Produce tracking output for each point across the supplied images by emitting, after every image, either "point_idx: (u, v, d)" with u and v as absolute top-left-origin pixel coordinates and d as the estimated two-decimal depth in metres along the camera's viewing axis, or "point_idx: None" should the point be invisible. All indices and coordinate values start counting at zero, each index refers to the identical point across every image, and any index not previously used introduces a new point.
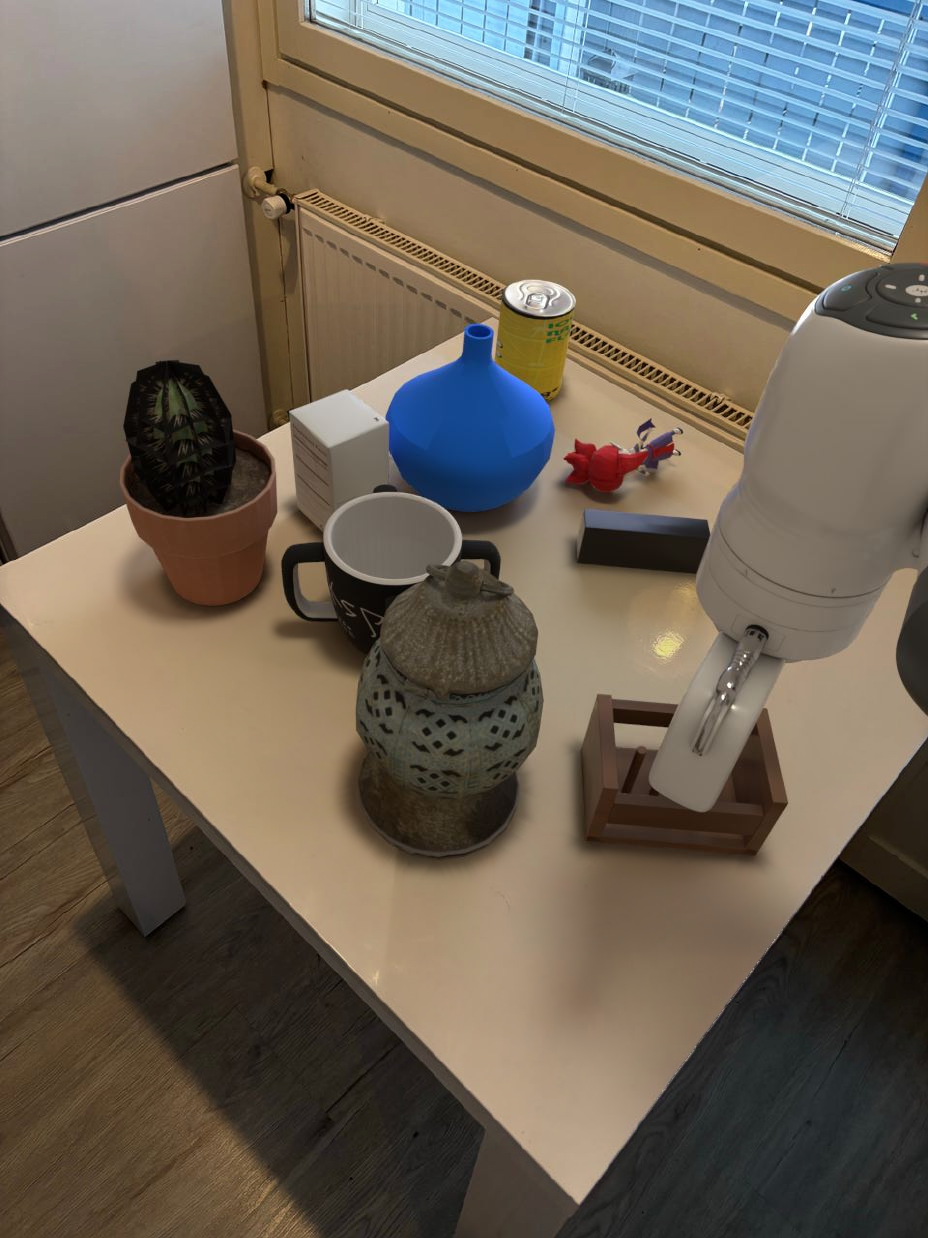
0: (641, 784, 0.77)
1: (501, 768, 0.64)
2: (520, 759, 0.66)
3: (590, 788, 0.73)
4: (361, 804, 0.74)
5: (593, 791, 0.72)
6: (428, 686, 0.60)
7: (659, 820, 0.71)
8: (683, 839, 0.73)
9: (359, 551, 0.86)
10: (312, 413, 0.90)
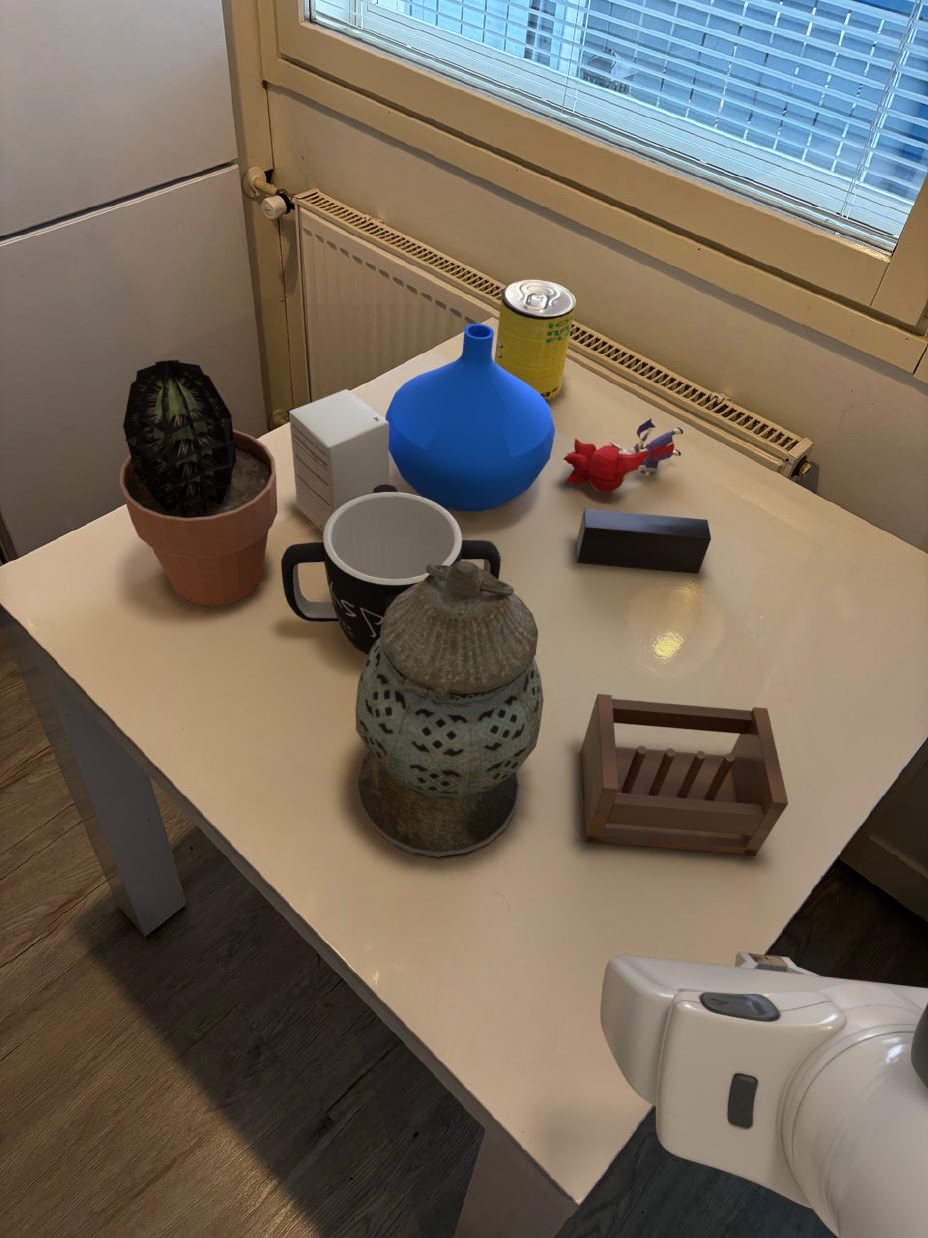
0: (641, 784, 0.77)
1: (501, 767, 0.64)
2: (520, 759, 0.66)
3: (590, 788, 0.73)
4: (361, 804, 0.74)
5: (593, 791, 0.72)
6: (428, 686, 0.60)
7: (659, 820, 0.71)
8: (683, 839, 0.73)
9: (359, 551, 0.86)
10: (312, 413, 0.90)
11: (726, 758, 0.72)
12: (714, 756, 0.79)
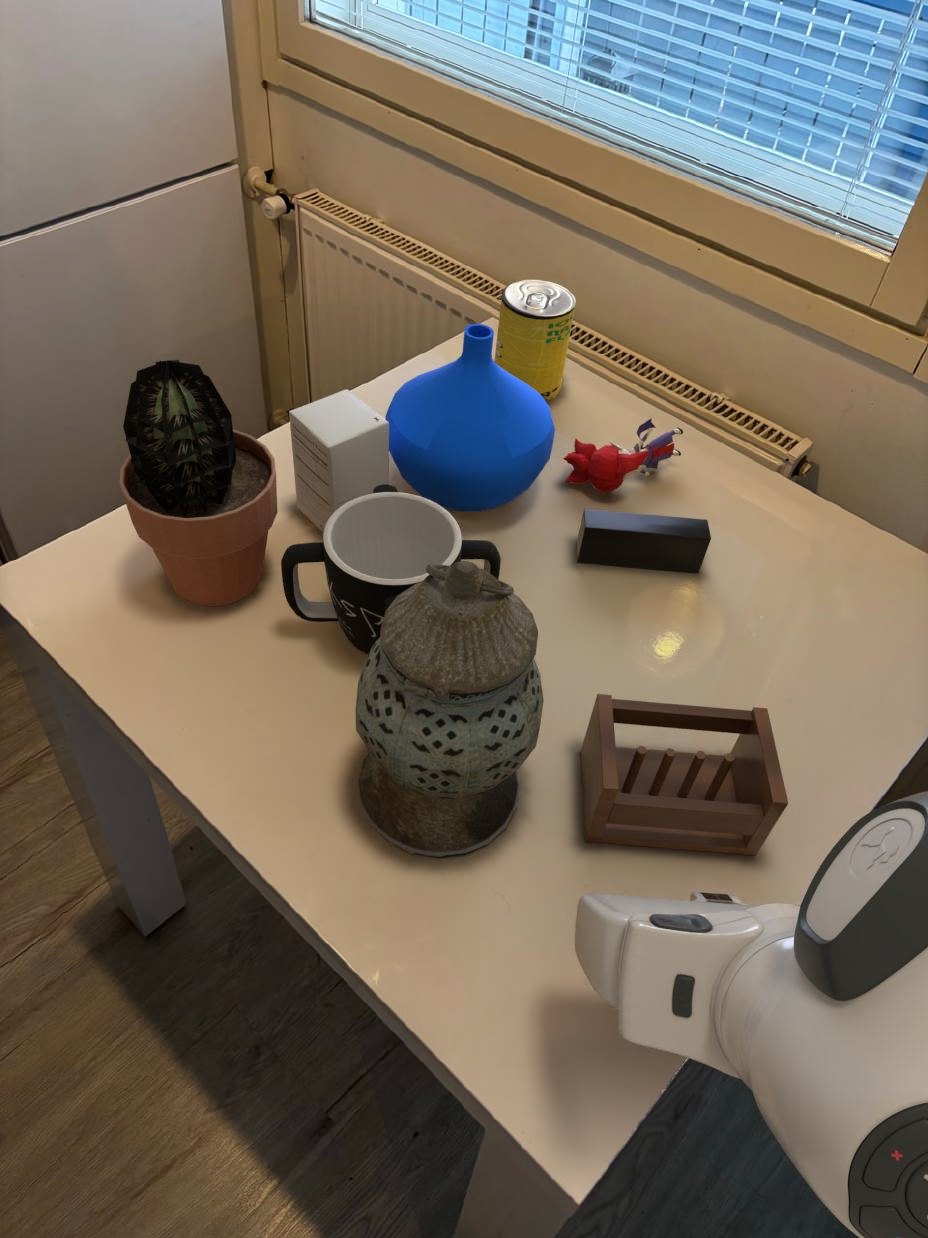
0: (641, 784, 0.77)
1: (501, 767, 0.64)
2: (520, 759, 0.66)
3: (590, 788, 0.73)
4: (361, 804, 0.74)
5: (593, 791, 0.72)
6: (428, 686, 0.60)
7: (659, 820, 0.71)
8: (683, 839, 0.73)
9: (359, 551, 0.86)
10: (312, 413, 0.90)
11: (726, 758, 0.72)
12: (714, 756, 0.79)
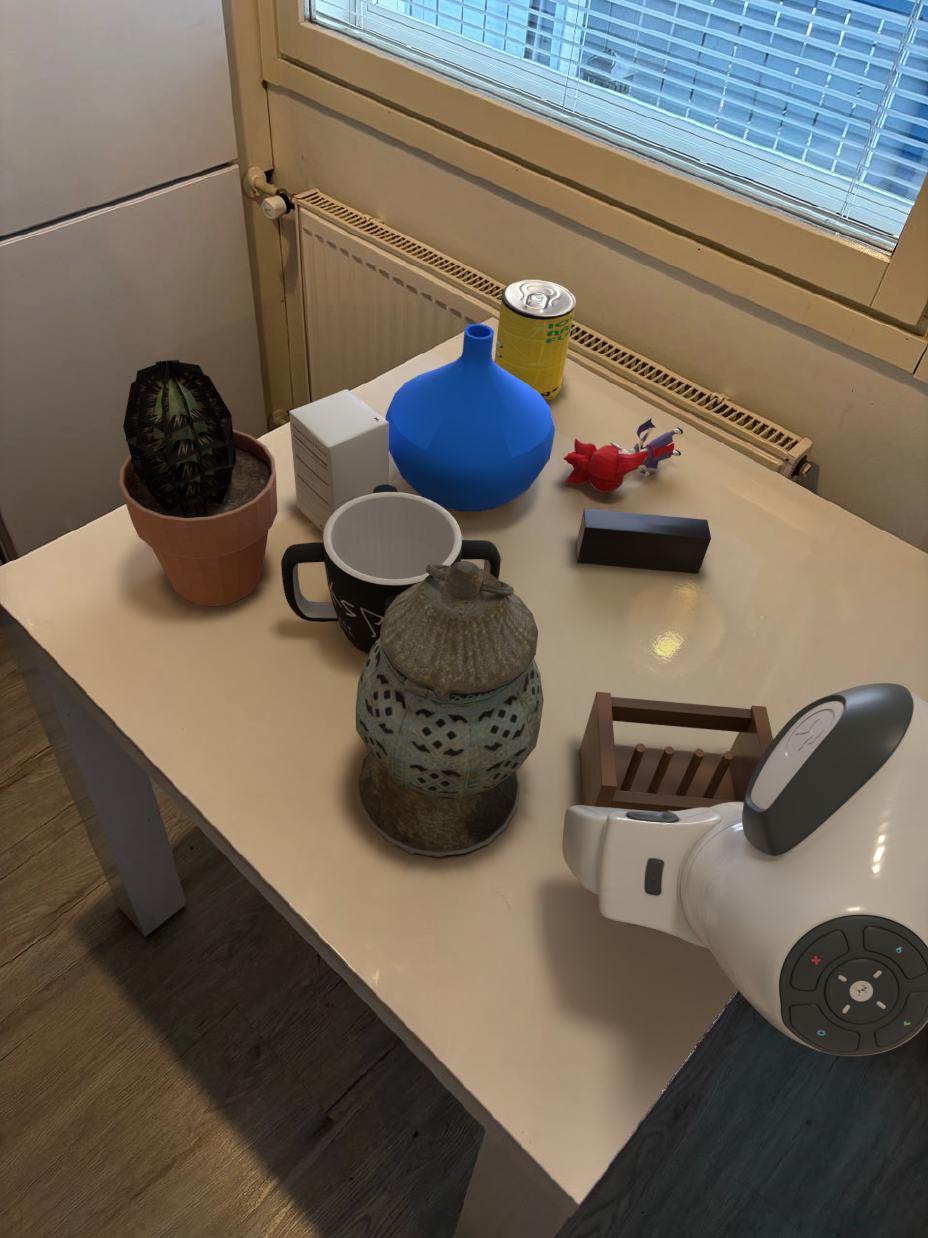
0: (640, 782, 0.77)
1: (501, 767, 0.64)
2: (520, 759, 0.66)
3: (589, 786, 0.73)
4: (361, 804, 0.74)
5: (592, 789, 0.72)
6: (428, 686, 0.60)
7: None
8: None
9: (359, 551, 0.86)
10: (312, 413, 0.90)
11: (725, 756, 0.72)
12: (713, 754, 0.79)
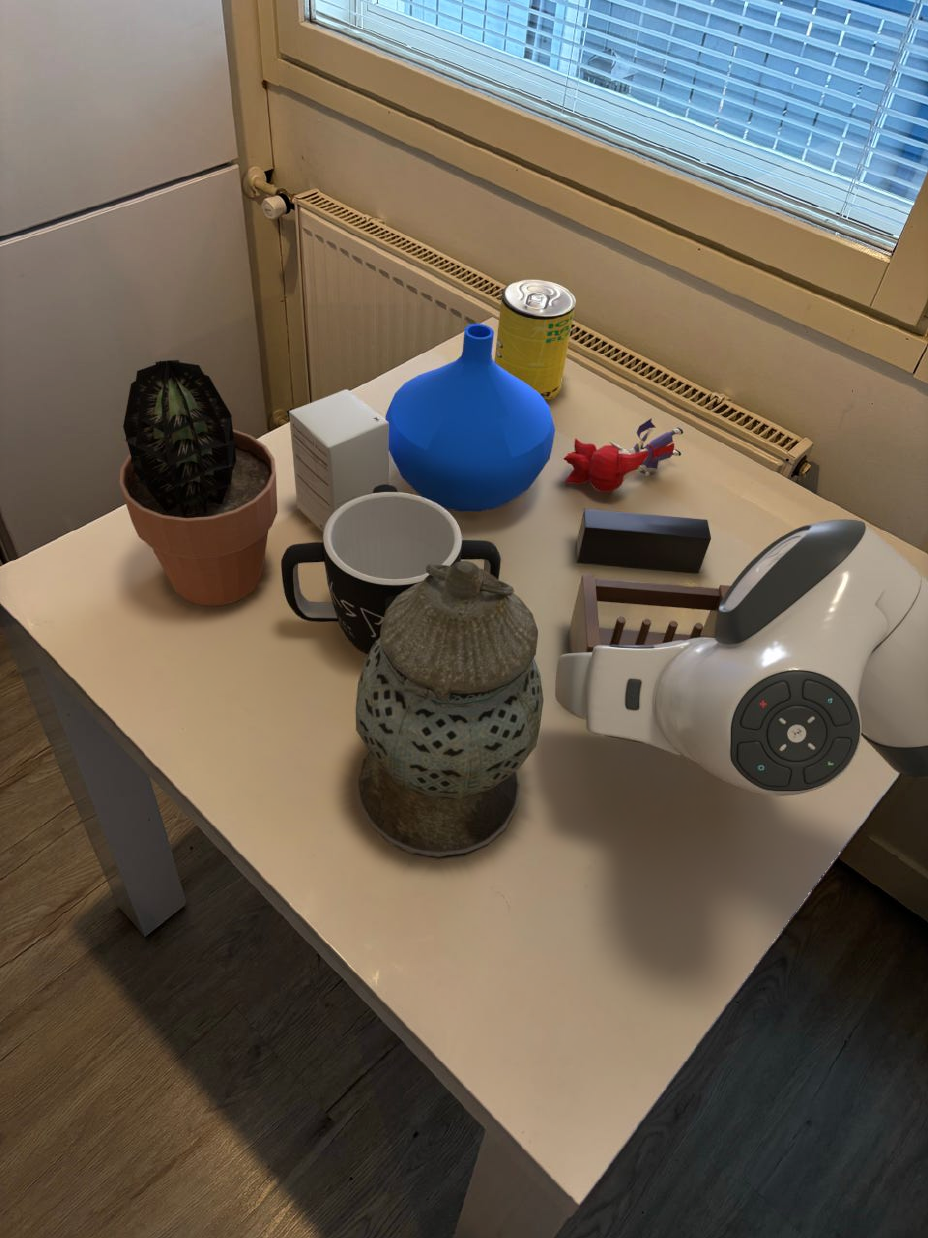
0: None
1: (501, 767, 0.64)
2: (520, 759, 0.66)
3: None
4: (361, 804, 0.74)
5: None
6: (428, 686, 0.60)
7: None
8: None
9: (359, 551, 0.86)
10: (312, 413, 0.90)
11: (696, 626, 0.81)
12: (687, 635, 0.89)
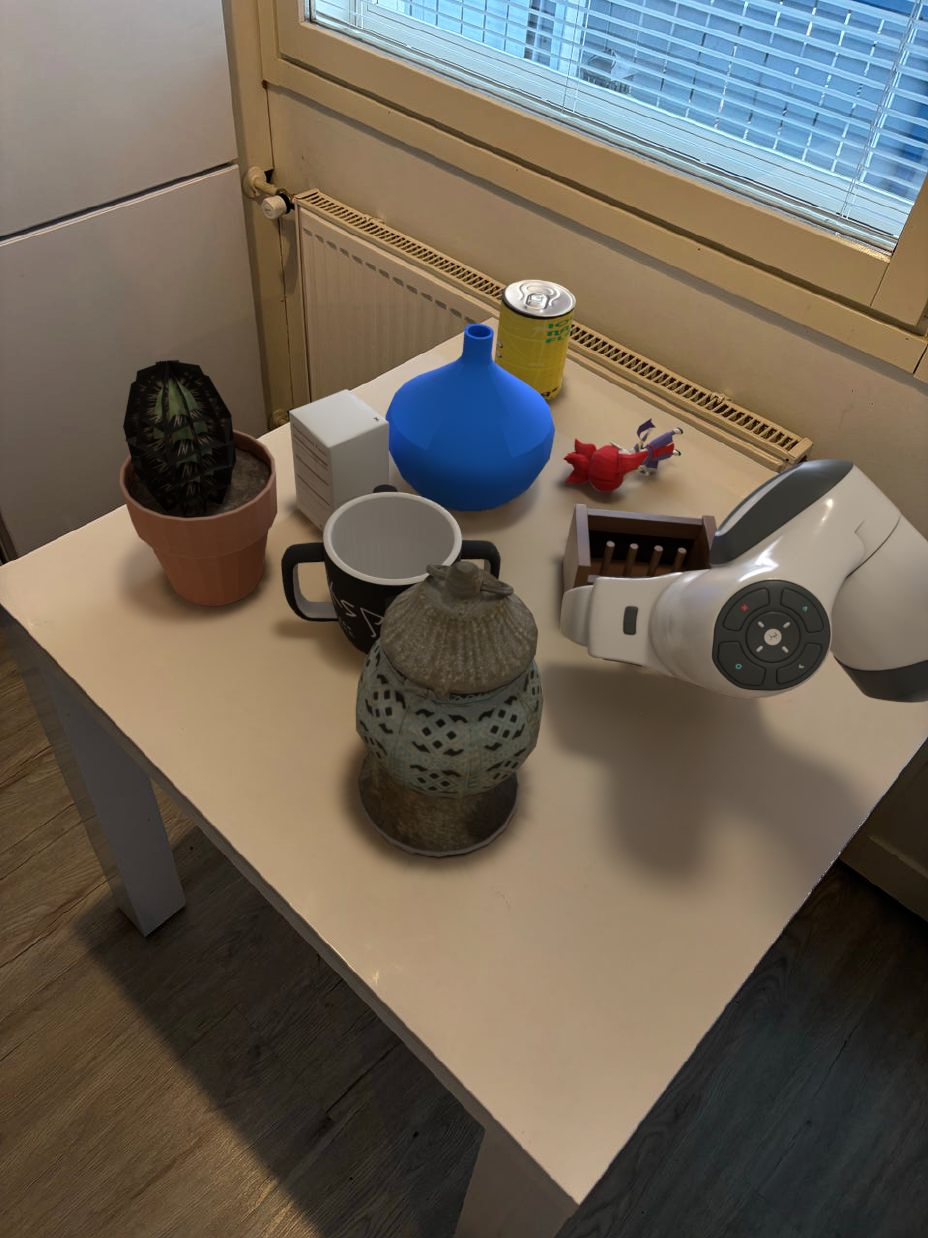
0: None
1: (501, 767, 0.64)
2: (520, 759, 0.66)
3: (569, 579, 0.90)
4: (361, 804, 0.74)
5: (571, 578, 0.88)
6: (428, 686, 0.60)
7: None
8: None
9: (359, 551, 0.86)
10: (312, 413, 0.90)
11: (679, 551, 0.88)
12: (673, 565, 0.95)
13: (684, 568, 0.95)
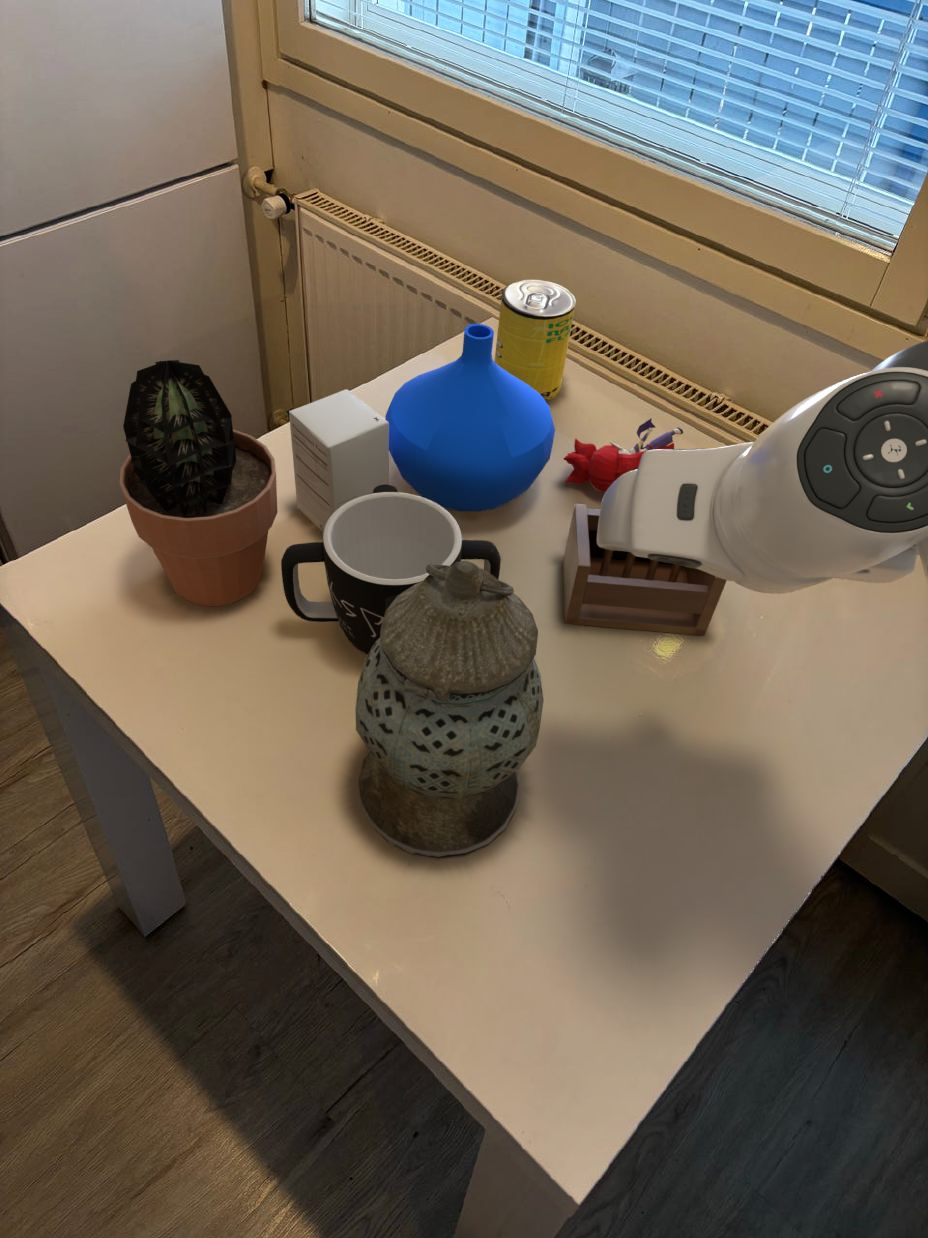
0: None
1: (501, 767, 0.64)
2: (520, 759, 0.66)
3: (569, 579, 0.90)
4: (361, 804, 0.74)
5: (571, 578, 0.88)
6: (428, 686, 0.60)
7: (624, 599, 0.87)
8: (645, 621, 0.90)
9: (359, 551, 0.86)
10: (312, 413, 0.90)
11: None
12: (673, 565, 0.95)
13: (684, 568, 0.95)
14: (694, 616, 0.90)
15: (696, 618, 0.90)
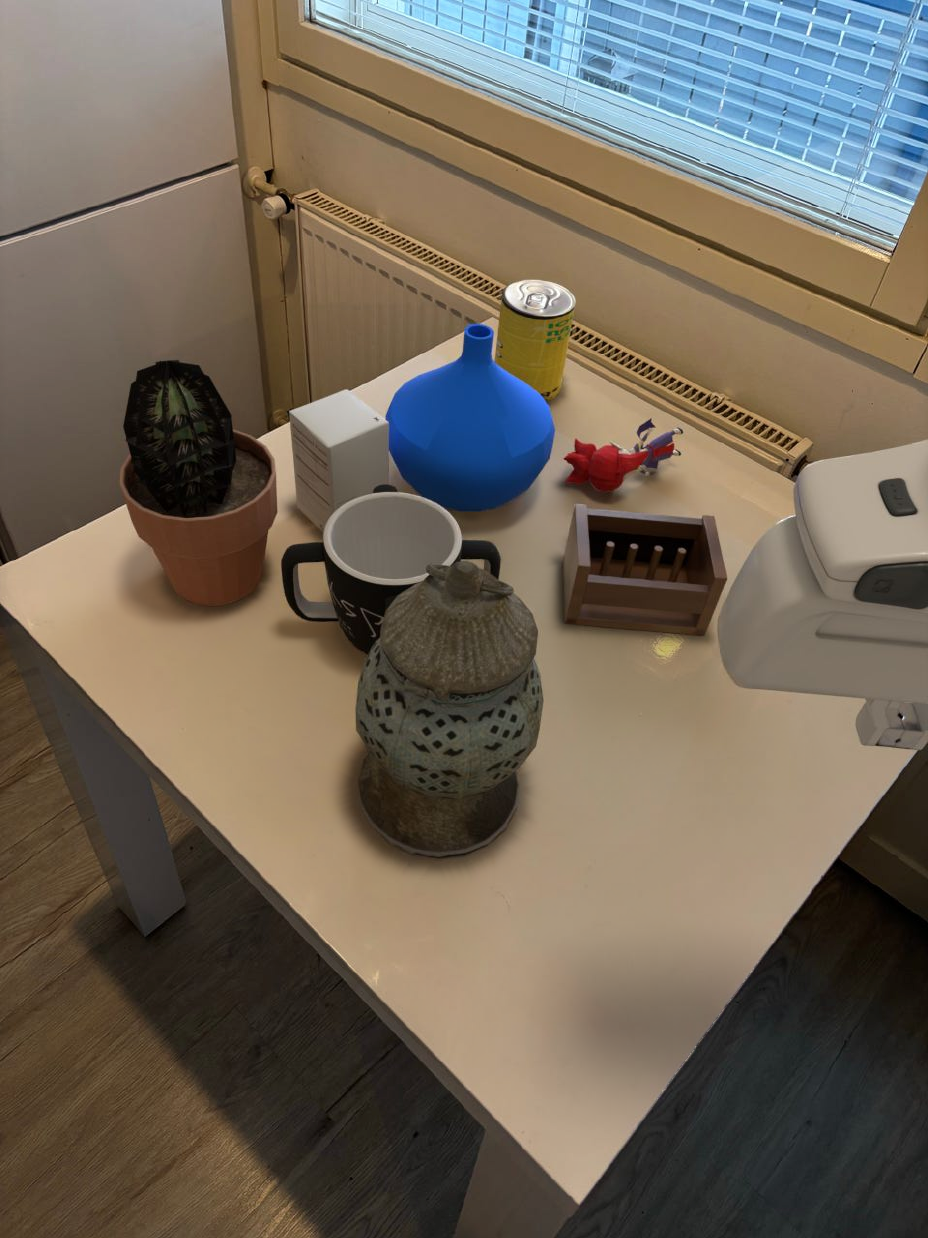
0: None
1: (501, 767, 0.64)
2: (520, 759, 0.66)
3: (569, 579, 0.90)
4: (361, 804, 0.74)
5: (571, 578, 0.88)
6: (428, 686, 0.60)
7: (624, 599, 0.87)
8: (645, 621, 0.90)
9: (359, 551, 0.86)
10: (312, 413, 0.90)
11: (679, 551, 0.88)
12: (673, 565, 0.95)
13: (684, 568, 0.95)
14: (694, 616, 0.90)
15: (696, 618, 0.90)
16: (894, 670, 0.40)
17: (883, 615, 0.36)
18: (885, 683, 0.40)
